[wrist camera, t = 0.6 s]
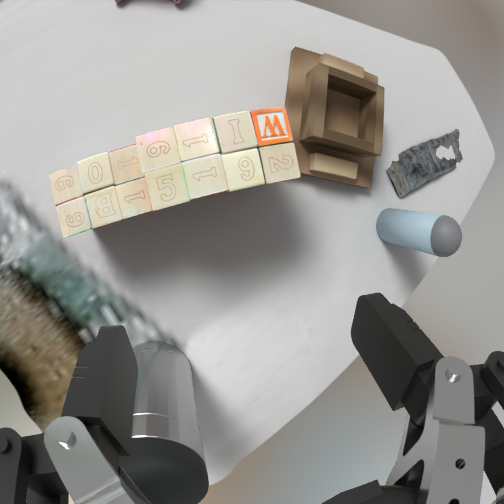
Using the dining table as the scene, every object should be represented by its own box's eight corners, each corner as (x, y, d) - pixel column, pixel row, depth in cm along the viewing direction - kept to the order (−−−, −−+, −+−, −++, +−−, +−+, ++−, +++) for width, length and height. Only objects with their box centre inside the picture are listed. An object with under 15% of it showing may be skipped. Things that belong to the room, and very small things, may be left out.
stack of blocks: (90, 227, 31) (49, 244, 20) (78, 176, 30) (33, 169, 18) (262, 182, 35) (303, 178, 24) (251, 132, 34) (287, 105, 22)
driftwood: (391, 200, 41) (400, 200, 39) (378, 156, 39) (387, 155, 37) (461, 164, 44) (469, 164, 42) (452, 130, 42) (460, 129, 40)
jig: (364, 188, 39) (389, 188, 33) (276, 169, 35) (293, 165, 30) (372, 79, 36) (394, 69, 31) (291, 51, 33) (307, 33, 27)
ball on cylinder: (398, 243, 42) (464, 262, 29) (373, 240, 40) (442, 259, 28) (403, 211, 41) (471, 221, 28) (378, 205, 40) (449, 214, 27)
